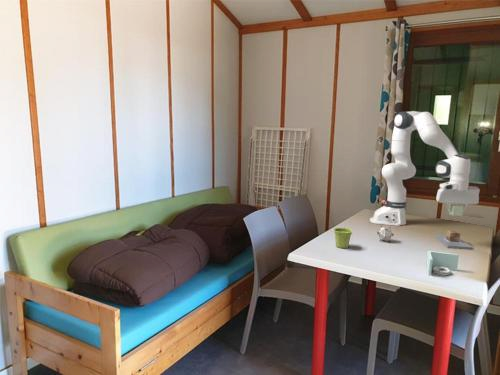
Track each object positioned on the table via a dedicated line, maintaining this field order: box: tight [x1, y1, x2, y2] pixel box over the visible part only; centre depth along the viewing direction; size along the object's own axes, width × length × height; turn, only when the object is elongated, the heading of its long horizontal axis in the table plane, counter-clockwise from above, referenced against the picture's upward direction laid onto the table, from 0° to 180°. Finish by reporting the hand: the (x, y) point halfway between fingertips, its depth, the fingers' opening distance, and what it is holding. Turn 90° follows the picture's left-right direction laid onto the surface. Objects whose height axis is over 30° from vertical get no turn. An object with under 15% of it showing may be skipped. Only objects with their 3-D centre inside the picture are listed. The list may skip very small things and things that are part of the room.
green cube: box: [448, 203, 464, 217], centre depth 203 cm, size 5×5×5 cm
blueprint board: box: [434, 234, 473, 251], centre depth 206 cm, size 12×20×1 cm, turn 172°
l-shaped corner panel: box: [426, 250, 460, 277], centre depth 162 cm, size 12×12×8 cm
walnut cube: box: [445, 229, 461, 242], centre depth 205 cm, size 5×5×5 cm
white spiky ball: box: [376, 225, 395, 243], centre depth 206 cm, size 9×8×10 cm
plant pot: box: [333, 227, 353, 249], centre depth 195 cm, size 9×9×9 cm
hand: (456, 211), depth 203 cm, fingers closed on green cube, 5 cm apart
